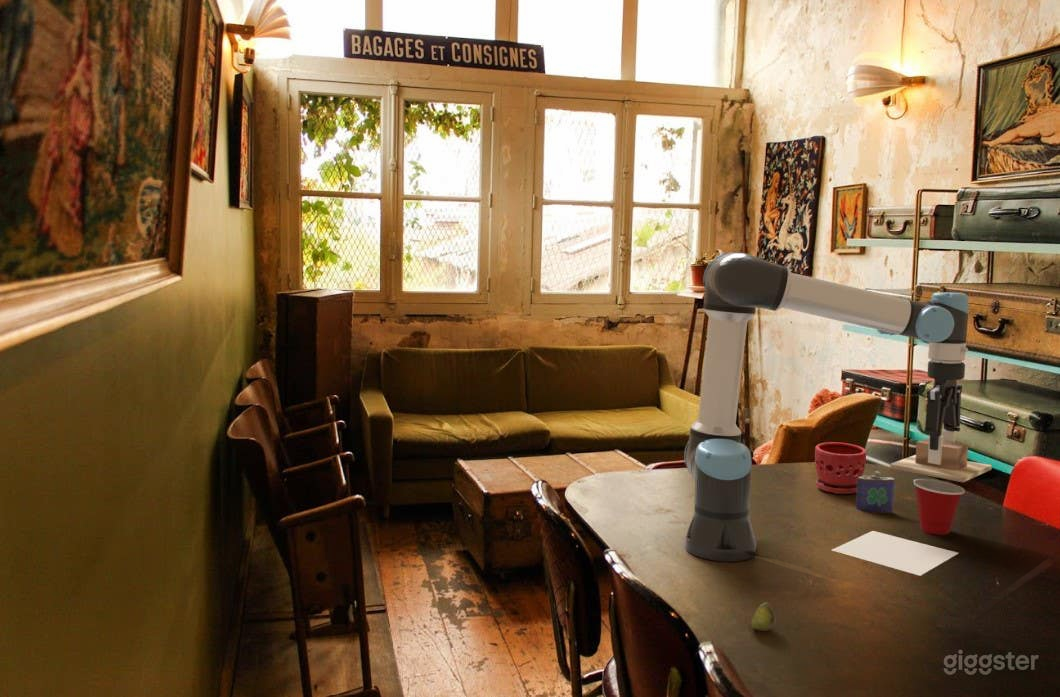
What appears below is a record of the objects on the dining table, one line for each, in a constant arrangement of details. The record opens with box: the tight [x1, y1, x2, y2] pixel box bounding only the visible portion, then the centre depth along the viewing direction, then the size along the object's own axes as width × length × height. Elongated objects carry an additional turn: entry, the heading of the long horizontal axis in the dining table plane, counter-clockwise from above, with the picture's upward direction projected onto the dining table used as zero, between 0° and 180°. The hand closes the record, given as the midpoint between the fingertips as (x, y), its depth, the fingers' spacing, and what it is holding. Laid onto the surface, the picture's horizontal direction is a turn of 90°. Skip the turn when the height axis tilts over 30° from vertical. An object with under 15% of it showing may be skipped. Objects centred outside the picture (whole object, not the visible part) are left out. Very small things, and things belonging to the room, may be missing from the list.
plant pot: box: [814, 441, 867, 495], centre depth 228 cm, size 13×13×12 cm
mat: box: [831, 530, 959, 576], centre depth 179 cm, size 19×19×1 cm
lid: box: [889, 437, 993, 483], centre depth 191 cm, size 16×16×6 cm
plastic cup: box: [912, 478, 966, 536], centre depth 192 cm, size 11×11×12 cm
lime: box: [749, 601, 777, 632], centre depth 144 cm, size 4×5×5 cm
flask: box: [855, 470, 896, 515], centre depth 208 cm, size 9×3×11 cm, turn 87°
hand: (940, 460), depth 191 cm, fingers closed on lid, 6 cm apart
